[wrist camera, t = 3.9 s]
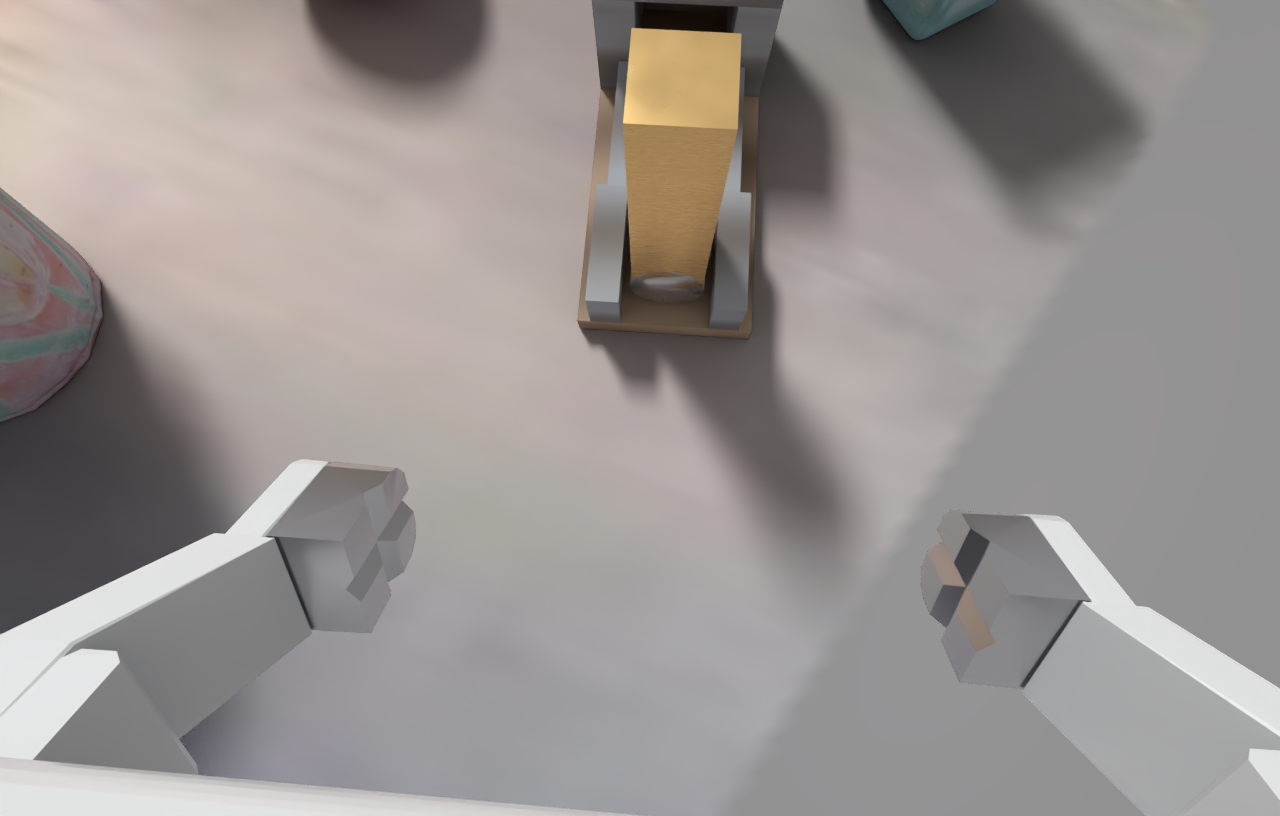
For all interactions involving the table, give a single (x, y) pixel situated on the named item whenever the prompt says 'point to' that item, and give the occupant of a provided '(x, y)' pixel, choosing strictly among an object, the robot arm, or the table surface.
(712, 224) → the tall wooden block
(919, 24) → the flower pot
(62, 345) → the potted plant
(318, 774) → the table surface
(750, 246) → the rail base
